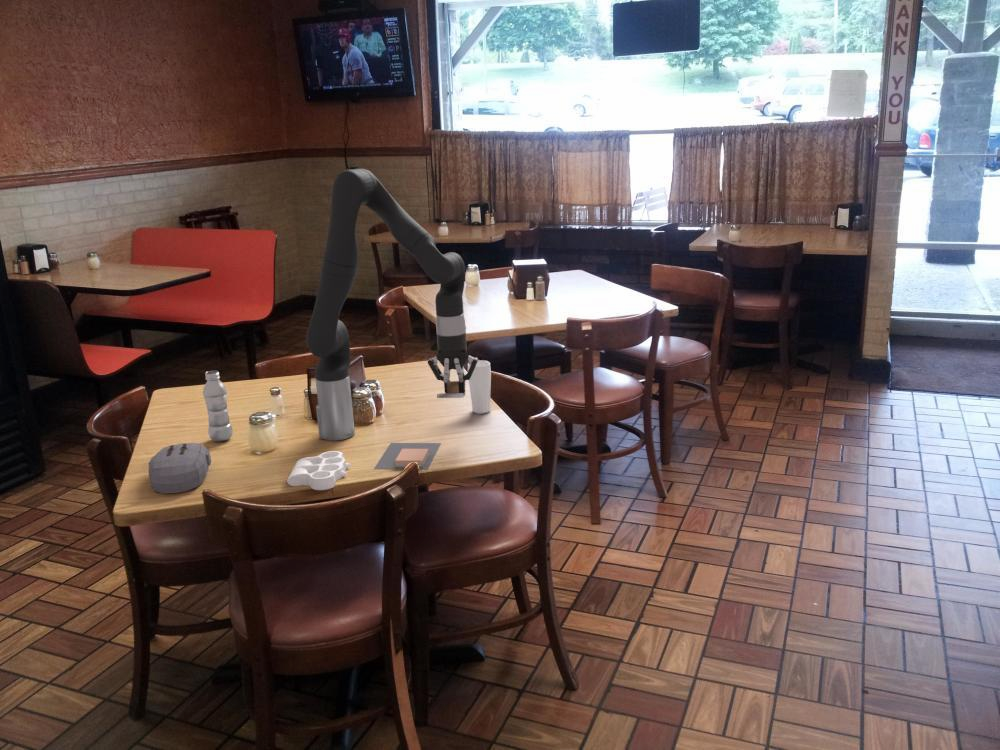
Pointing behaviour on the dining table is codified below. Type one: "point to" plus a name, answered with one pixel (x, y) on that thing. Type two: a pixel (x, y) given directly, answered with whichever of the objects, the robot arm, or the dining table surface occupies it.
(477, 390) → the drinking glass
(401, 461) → the tile
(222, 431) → the plastic bottle
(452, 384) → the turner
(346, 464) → the white compartment holder
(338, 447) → the dining table surface
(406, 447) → the mat
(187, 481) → the grey rounded bag
